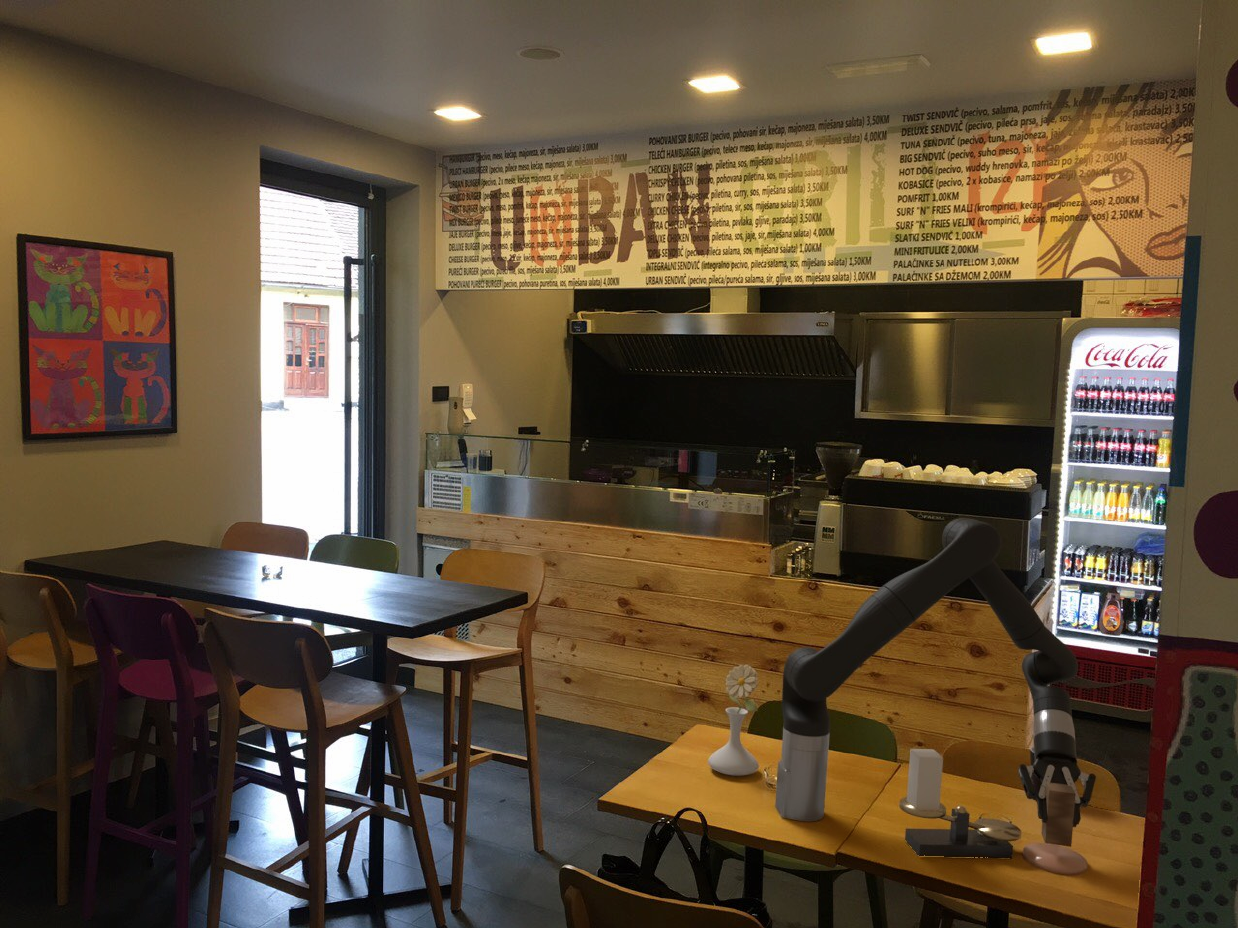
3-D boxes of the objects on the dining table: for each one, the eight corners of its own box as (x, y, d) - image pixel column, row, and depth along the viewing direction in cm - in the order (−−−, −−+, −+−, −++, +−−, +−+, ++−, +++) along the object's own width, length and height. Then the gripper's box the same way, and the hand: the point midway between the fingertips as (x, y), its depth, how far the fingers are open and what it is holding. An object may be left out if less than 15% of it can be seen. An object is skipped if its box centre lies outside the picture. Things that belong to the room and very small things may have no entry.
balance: (906, 858, 184) (909, 813, 184) (889, 839, 193) (893, 795, 192) (1027, 860, 186) (1031, 816, 186) (1006, 841, 195) (1009, 798, 194)
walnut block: (1045, 842, 185) (1049, 790, 185) (1041, 833, 190) (1045, 781, 189) (1071, 846, 184) (1075, 793, 184) (1067, 836, 189) (1071, 784, 188)
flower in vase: (698, 764, 228) (705, 656, 226) (741, 759, 232) (747, 653, 231) (728, 785, 216) (735, 671, 214) (772, 780, 221) (780, 668, 219)
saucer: (1041, 874, 181) (1041, 868, 181) (1012, 847, 192) (1012, 842, 192) (1099, 874, 182) (1099, 869, 182) (1066, 848, 193) (1067, 843, 193)
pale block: (915, 809, 186) (919, 756, 185) (906, 800, 190) (910, 748, 190) (939, 810, 186) (943, 757, 186) (929, 800, 191) (933, 749, 190)
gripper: (1018, 724, 195) (1021, 808, 184) (1097, 734, 191) (1106, 820, 180) (1012, 742, 200) (1015, 825, 189) (1090, 752, 197) (1097, 837, 186)
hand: (1059, 822), depth 185 cm, fingers closed on walnut block, 4 cm apart
